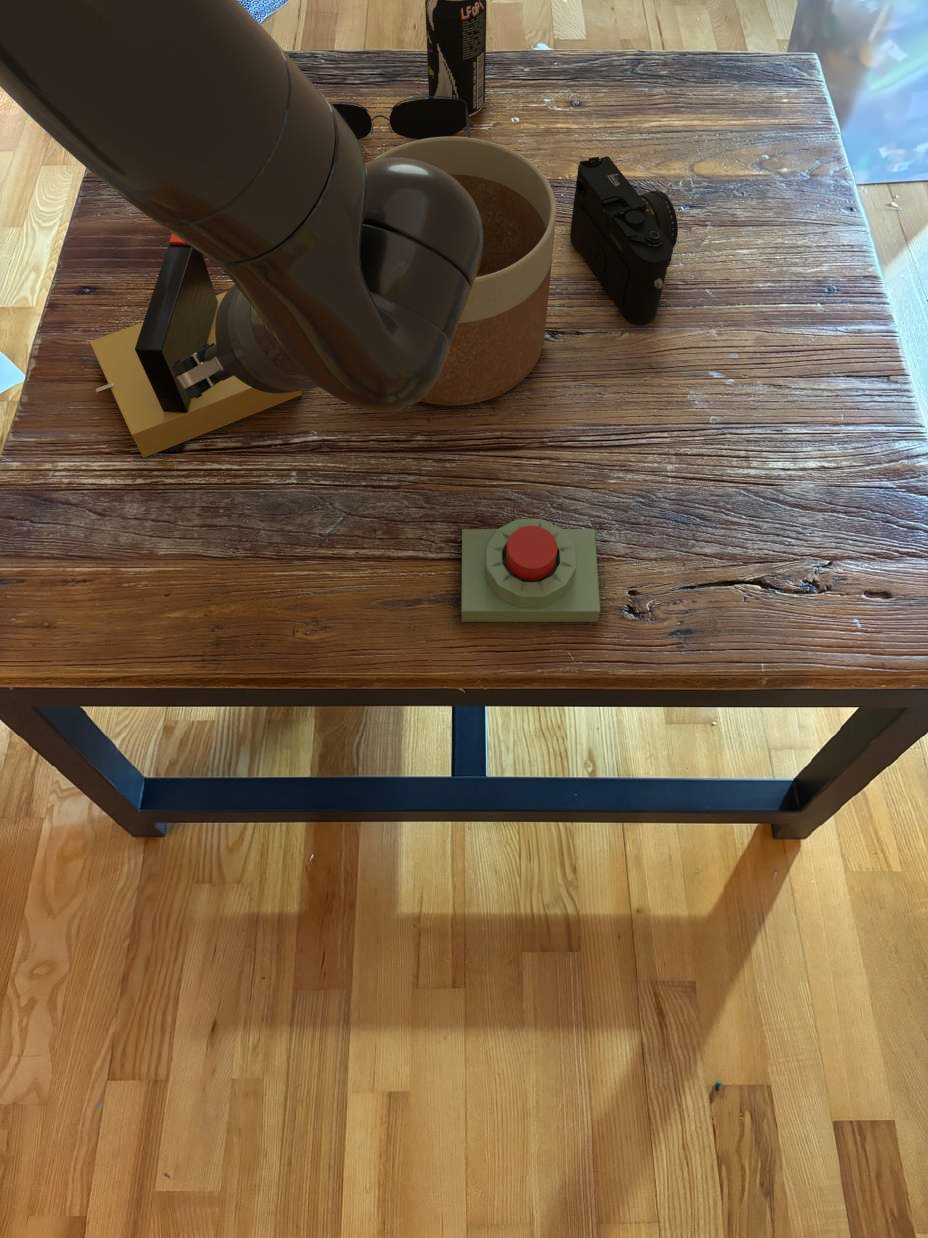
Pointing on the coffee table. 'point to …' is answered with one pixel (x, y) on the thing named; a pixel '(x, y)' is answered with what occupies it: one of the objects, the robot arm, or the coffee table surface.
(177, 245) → the block
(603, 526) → the coffee table surface
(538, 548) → the button
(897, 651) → the coffee table surface
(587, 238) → the camera
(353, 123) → the sunglasses
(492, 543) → the button block
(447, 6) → the beverage can
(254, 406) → the plate
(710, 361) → the coffee table surface
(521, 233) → the planter
